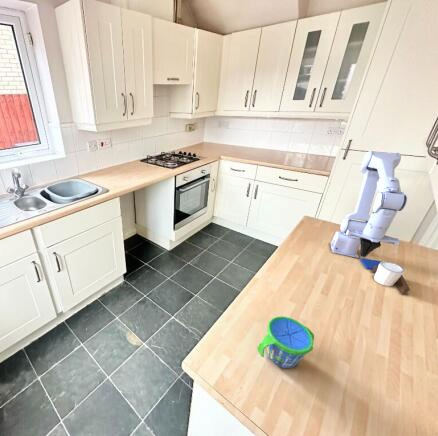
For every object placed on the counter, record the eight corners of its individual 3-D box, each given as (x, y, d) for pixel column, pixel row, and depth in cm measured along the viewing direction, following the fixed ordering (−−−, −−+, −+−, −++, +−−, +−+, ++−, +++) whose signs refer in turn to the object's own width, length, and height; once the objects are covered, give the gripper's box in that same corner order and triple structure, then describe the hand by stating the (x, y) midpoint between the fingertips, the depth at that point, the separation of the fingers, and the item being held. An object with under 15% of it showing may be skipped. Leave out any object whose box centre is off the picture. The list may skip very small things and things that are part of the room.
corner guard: (378, 288, 90) (382, 282, 88) (371, 270, 98) (374, 265, 97) (405, 295, 87) (410, 289, 85) (396, 276, 95) (399, 270, 93)
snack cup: (264, 378, 63) (273, 355, 58) (245, 341, 72) (252, 318, 67) (320, 372, 64) (333, 348, 59) (295, 336, 73) (305, 313, 68)
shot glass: (385, 275, 96) (393, 261, 92) (400, 287, 90) (410, 273, 86) (367, 274, 96) (375, 260, 93) (381, 287, 90) (390, 272, 87)
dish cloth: (366, 269, 99) (367, 267, 99) (360, 259, 105) (360, 257, 104) (390, 273, 97) (391, 271, 96) (383, 263, 102) (383, 261, 102)
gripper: (354, 225, 86) (340, 255, 92) (409, 235, 79) (390, 267, 86) (351, 216, 91) (338, 246, 97) (402, 225, 85) (384, 256, 91)
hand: (362, 255), depth 92 cm, fingers closed
